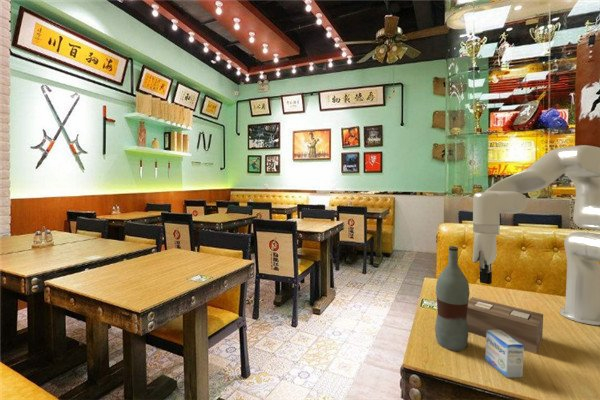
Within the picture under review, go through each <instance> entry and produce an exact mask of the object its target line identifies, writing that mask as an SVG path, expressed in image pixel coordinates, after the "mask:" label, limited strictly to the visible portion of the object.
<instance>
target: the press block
mask: <svg viewBox="0 0 600 400" xmlns="http://www.w3.org/2000/svg"><path fill="white" fill-rule="evenodd" d="M477 302H482V303H486V304H490V305H493V307H492V308H491V310H488V309H485V308H481V307H477V306H474V305H475V304H476V303H477ZM513 310H514V311H518V312H522V313H526V314H530V318H529V320H527V319H523V318H519V317H515V316H511V315H510V314H511V312H512V311H513ZM467 325H468V333H470V334H474V335H476V336H477V335H478V336H480V337H483V338H486V333H487V330H501V331H503V332H504V333H506V334H507V335H509V336H510V337H512V338H513V339H515V340H517V341H518V342H520V343H521V344H523V345H524V351H527V352H530V353H533V354H537V353H538V350H539V348H540V345H541V343H542V340H543V337H544V336H543V332H544V313H540V312H536V311H532V310H528V309H524V308H519V307H515V306H511V305H507V304H503V303H499V302H495V301H490V300H486V299H482V298H479V297H474V296H472V297H471V298H469V300H468V309H467Z"/></svg>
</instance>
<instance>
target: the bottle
mask: <svg viewBox="0 0 600 400" xmlns="http://www.w3.org/2000/svg"><path fill="white" fill-rule="evenodd" d="M447 262H448V264H447V265H446V266H445V268H444V269H443V270H442V271H441V273H440V274H439V275H438V277H437V280H436V285H435V292H436V293H435V294H436V309H437V310H436V311H437V312H436V313H437V315H436V319H435V324H434V325H435V327H434V331H435V338H436V342H437V344H438V345H440V346H441V347H442V348H444V349H447V350H450V351H453V352H454V351H455V352H462V351H464V350H466V349H467V346H468V340H469V332H468V325H467V309H468V300H470V285H469V281H468V279H467V277H466V275H465V274H464V273H463V271H462V270H461V268H460V266H459V263H458V262H459V247H458V246H452V245H451V246H448V261H447Z"/></svg>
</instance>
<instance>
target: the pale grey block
mask: <svg viewBox="0 0 600 400" xmlns="http://www.w3.org/2000/svg"><path fill="white" fill-rule="evenodd" d="M510 315H511V316H515V317H519V318H523V319H527V320H529V318H530V314H526V313H522V312H518V311H514V310H513V311H512V312H511V314H510Z"/></svg>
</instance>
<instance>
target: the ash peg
mask: <svg viewBox="0 0 600 400" xmlns="http://www.w3.org/2000/svg"><path fill="white" fill-rule="evenodd" d="M474 306H477V307H481V308H485V309H488V310H491V308H492V307H493V305H490V304H486V303H482V302H477V303H476V304H475V305H474Z"/></svg>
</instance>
